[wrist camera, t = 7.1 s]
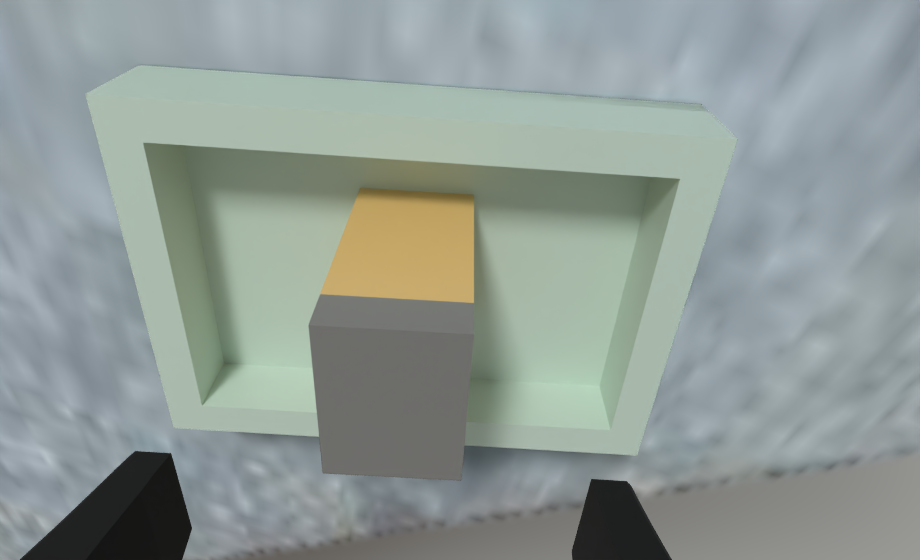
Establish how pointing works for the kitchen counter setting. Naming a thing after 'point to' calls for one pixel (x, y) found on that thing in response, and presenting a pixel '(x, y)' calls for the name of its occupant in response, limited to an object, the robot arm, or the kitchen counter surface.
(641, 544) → the robot arm
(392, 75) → the kitchen counter surface
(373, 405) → the block
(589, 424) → the parts tray
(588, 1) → the kitchen counter surface
